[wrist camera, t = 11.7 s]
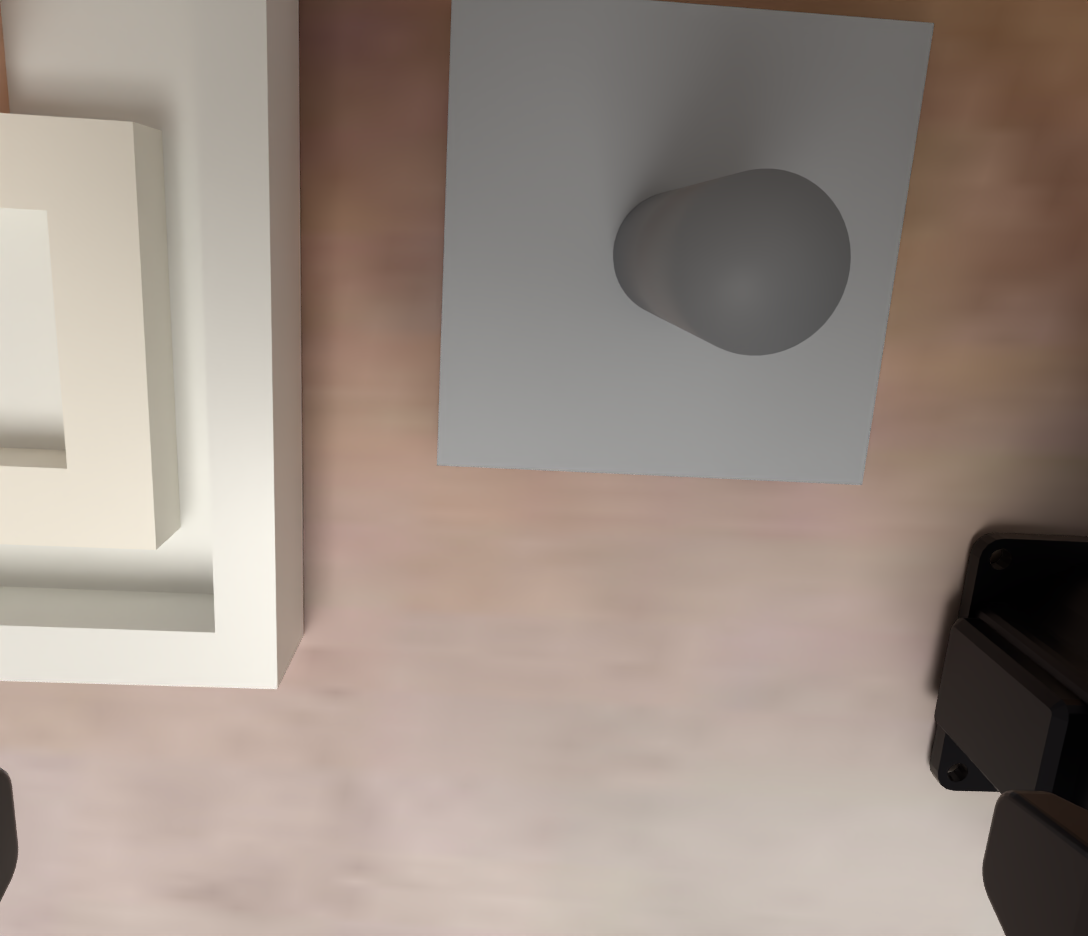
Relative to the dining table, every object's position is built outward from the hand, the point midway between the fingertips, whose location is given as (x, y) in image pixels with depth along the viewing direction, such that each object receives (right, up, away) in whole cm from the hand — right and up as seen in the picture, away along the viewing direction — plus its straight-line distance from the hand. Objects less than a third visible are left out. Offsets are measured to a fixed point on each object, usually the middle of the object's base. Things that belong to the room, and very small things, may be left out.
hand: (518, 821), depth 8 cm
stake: (+3, +8, +11) cm, 13 cm away
